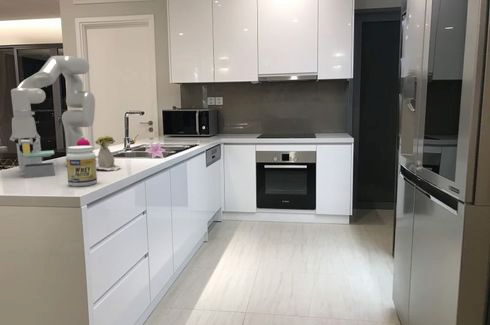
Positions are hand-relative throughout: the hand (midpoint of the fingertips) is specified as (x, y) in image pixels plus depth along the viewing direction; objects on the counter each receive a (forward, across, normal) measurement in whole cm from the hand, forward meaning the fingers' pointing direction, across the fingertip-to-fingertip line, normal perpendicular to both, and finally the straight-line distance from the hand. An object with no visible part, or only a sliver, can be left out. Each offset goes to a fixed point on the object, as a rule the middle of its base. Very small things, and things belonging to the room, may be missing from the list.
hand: (26, 152), depth 194 cm
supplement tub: (+13, -22, +30) cm, 39 cm away
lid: (+1, -5, 0) cm, 5 cm away
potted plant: (+14, -38, -4) cm, 40 cm away
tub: (+13, -5, +1) cm, 13 cm away
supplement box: (+13, -1, -17) cm, 22 cm away
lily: (+14, -72, -35) cm, 82 cm away
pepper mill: (+13, -25, +11) cm, 30 cm away
